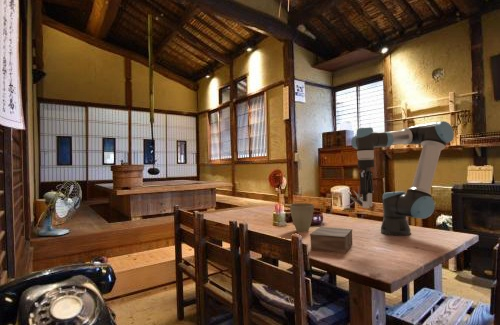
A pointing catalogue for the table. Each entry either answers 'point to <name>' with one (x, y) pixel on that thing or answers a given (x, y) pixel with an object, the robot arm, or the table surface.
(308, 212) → the plant pot
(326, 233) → the walnut box
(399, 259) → the table surface
